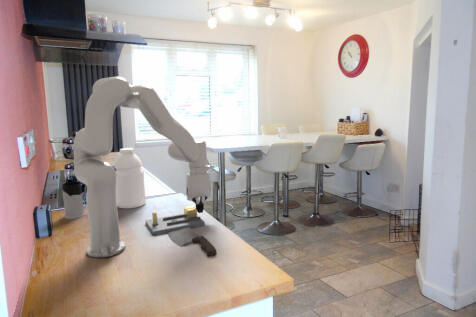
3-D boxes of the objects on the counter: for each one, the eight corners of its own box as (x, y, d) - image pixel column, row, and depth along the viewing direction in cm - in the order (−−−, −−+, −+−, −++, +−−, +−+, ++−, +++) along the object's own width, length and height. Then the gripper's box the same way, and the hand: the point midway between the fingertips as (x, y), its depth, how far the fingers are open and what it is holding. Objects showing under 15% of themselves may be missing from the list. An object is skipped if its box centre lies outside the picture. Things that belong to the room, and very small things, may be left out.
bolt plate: (204, 225, 143) (204, 209, 142) (153, 235, 134) (152, 219, 133) (193, 215, 155) (192, 201, 154) (145, 223, 146) (144, 208, 145)
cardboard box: (197, 218, 146) (196, 208, 145) (188, 220, 144) (187, 210, 144) (193, 214, 150) (192, 205, 150) (184, 216, 149) (183, 207, 148)
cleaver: (223, 253, 117) (222, 248, 117) (196, 261, 112) (196, 255, 112) (185, 228, 142) (185, 223, 141) (163, 234, 136) (162, 228, 136)
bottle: (130, 199, 183) (126, 146, 178) (151, 202, 177) (147, 147, 172) (110, 207, 170) (105, 150, 165) (132, 210, 164) (127, 151, 159)
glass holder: (62, 215, 160) (58, 183, 157) (94, 208, 169) (90, 178, 166) (67, 220, 153) (63, 187, 150) (100, 212, 162) (97, 181, 159)
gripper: (211, 166, 152) (212, 206, 155) (178, 170, 146) (180, 212, 149) (218, 169, 145) (219, 211, 149) (183, 173, 139) (185, 217, 142)
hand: (199, 211), depth 149 cm, fingers closed
